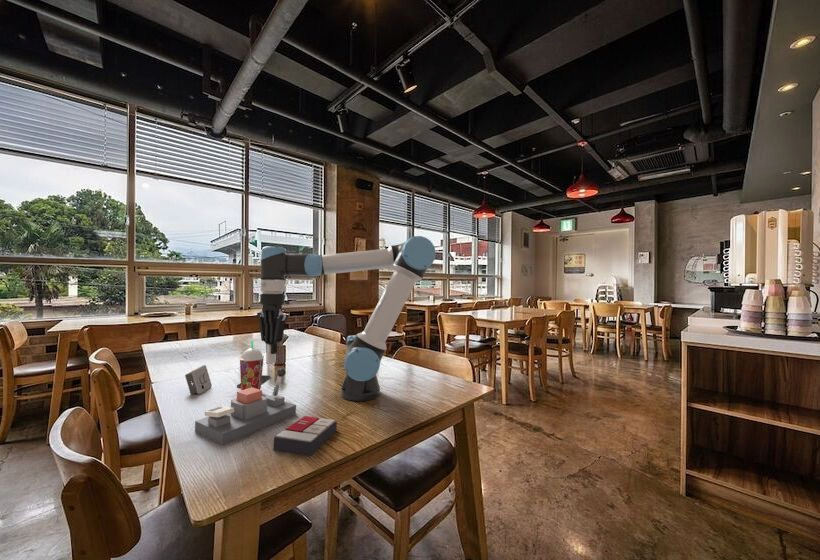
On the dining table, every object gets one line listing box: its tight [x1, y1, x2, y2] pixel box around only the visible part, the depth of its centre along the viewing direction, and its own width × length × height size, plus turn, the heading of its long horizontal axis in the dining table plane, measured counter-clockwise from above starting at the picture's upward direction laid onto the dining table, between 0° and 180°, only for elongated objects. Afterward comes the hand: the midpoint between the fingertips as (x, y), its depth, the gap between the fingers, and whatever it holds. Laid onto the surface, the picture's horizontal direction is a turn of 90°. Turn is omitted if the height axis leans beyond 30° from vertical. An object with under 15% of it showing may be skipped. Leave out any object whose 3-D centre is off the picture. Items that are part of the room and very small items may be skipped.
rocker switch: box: [204, 406, 234, 417], centre depth 93 cm, size 4×7×1 cm, turn 59°
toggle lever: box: [272, 368, 287, 396], centre depth 107 cm, size 3×3×10 cm
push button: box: [236, 387, 263, 404], centre depth 100 cm, size 5×5×4 cm
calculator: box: [272, 415, 338, 457], centre depth 91 cm, size 11×4×15 cm
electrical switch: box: [184, 364, 213, 395], centre depth 126 cm, size 9×5×9 cm, turn 7°
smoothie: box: [239, 340, 264, 391], centre depth 125 cm, size 8×8×20 cm
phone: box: [236, 374, 271, 389], centre depth 138 cm, size 8×1×15 cm
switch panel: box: [194, 394, 297, 446], centre depth 100 cm, size 24×14×7 cm, turn 149°
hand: (271, 363), depth 109 cm, fingers closed
